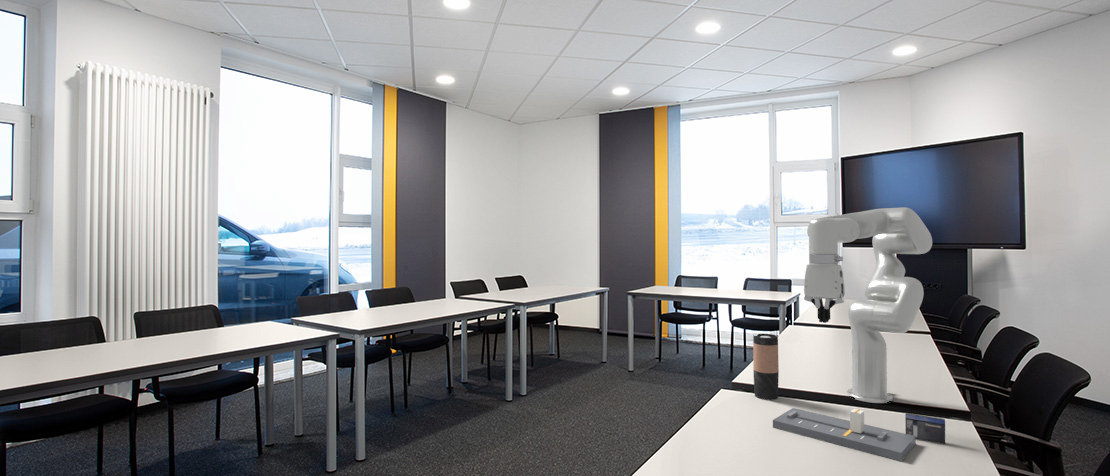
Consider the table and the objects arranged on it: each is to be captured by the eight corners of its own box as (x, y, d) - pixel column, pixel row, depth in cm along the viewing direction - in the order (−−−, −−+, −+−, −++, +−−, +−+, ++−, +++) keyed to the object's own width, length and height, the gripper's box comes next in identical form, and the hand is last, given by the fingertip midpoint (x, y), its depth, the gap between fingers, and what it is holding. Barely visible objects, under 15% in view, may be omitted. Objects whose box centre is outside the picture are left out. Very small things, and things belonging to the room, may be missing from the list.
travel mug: (781, 400, 162) (780, 338, 162) (756, 399, 164) (755, 337, 164) (775, 393, 170) (775, 333, 170) (751, 392, 171) (751, 333, 171)
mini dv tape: (905, 437, 132) (905, 414, 132) (905, 435, 133) (905, 412, 133) (945, 444, 128) (945, 420, 128) (944, 442, 129) (944, 418, 129)
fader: (853, 427, 133) (853, 408, 133) (864, 430, 131) (864, 410, 131) (850, 430, 131) (850, 411, 131) (860, 433, 129) (860, 413, 129)
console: (793, 414, 150) (793, 405, 150) (915, 444, 128) (915, 432, 128) (772, 427, 140) (772, 417, 140) (901, 461, 118) (901, 449, 118)
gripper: (855, 260, 148) (856, 323, 148) (802, 259, 159) (802, 317, 159) (846, 261, 143) (847, 326, 143) (792, 260, 153) (793, 320, 154)
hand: (823, 321), depth 151 cm, fingers closed
